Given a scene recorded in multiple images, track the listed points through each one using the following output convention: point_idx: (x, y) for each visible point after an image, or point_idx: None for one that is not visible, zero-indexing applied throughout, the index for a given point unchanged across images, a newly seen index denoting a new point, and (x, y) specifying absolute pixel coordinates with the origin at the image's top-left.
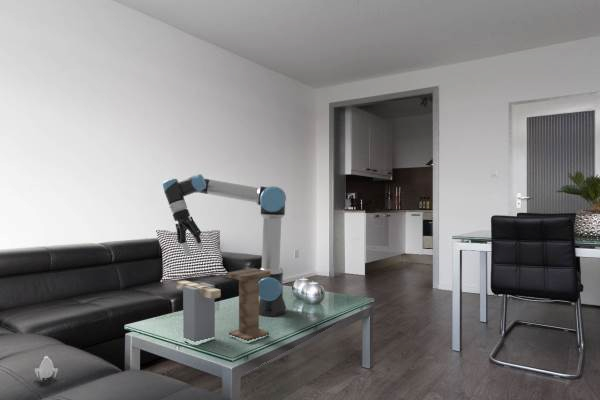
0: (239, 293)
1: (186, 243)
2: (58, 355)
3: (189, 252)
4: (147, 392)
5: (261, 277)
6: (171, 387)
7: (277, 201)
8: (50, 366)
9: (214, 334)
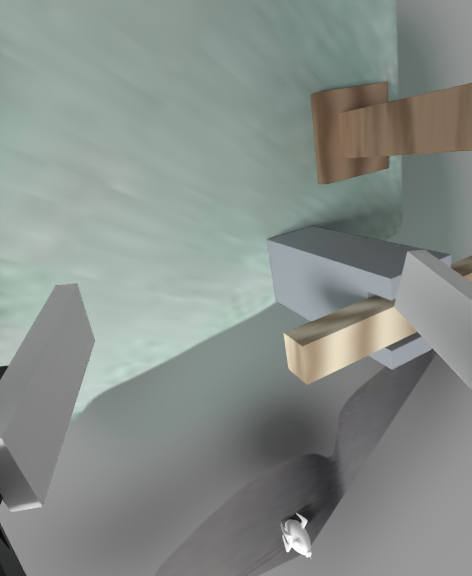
0: (453, 150)
1: (20, 424)
2: (198, 540)
3: (74, 313)
4: (410, 387)
5: None
6: (419, 356)
7: None
8: (307, 534)
9: (320, 228)
